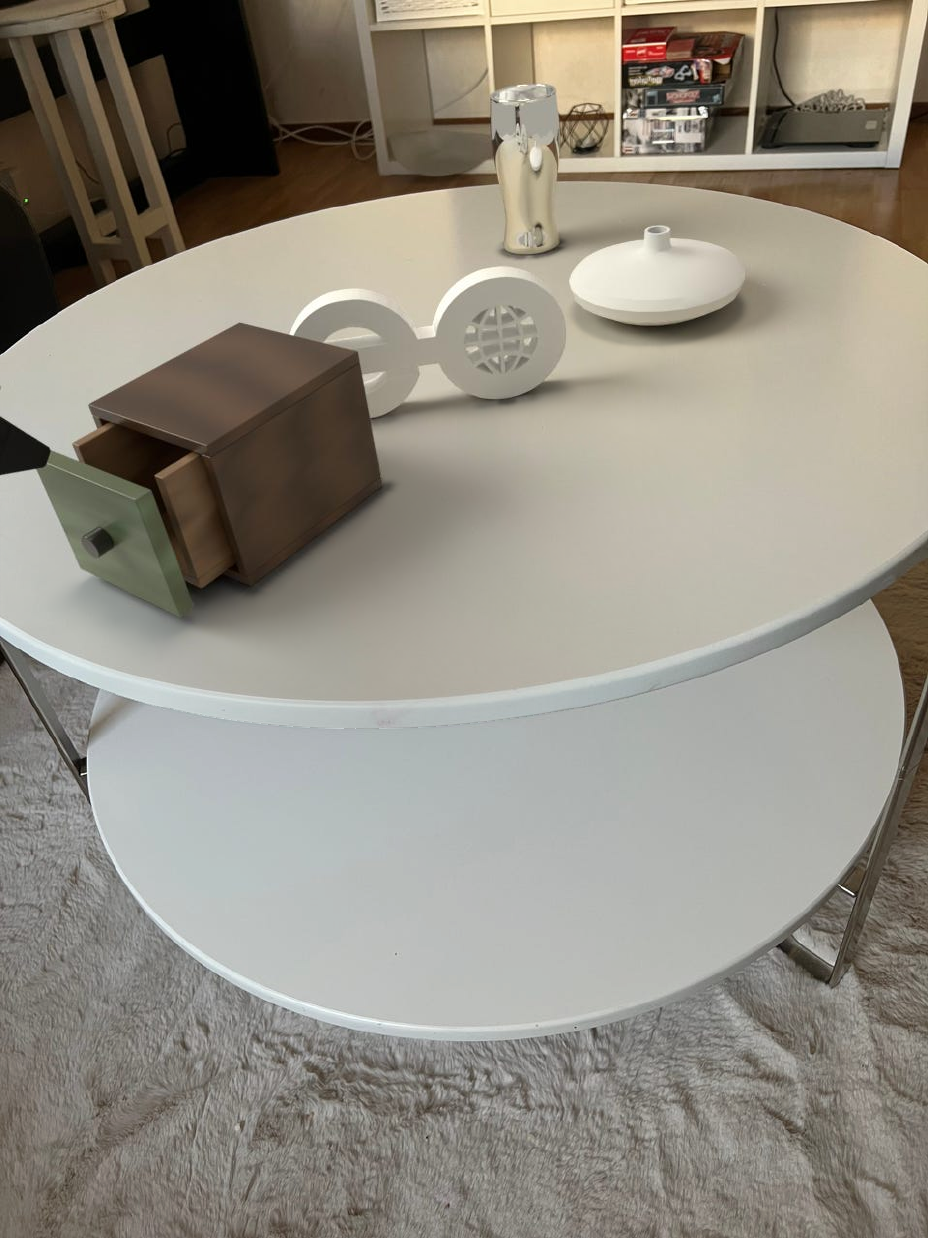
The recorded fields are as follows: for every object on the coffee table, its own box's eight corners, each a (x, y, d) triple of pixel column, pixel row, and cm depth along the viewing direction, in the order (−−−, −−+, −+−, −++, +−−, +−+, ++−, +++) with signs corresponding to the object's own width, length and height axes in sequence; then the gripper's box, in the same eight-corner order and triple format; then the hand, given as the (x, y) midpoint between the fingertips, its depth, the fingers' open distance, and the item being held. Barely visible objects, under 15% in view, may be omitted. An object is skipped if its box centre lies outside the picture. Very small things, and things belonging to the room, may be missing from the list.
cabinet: (250, 586, 64) (206, 445, 57) (139, 537, 70) (87, 404, 63) (383, 485, 72) (358, 350, 65) (272, 448, 78) (239, 321, 71)
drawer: (165, 629, 60) (118, 510, 54) (65, 578, 65) (13, 465, 60) (316, 516, 68) (289, 402, 62) (216, 479, 73) (182, 371, 68)
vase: (620, 265, 99) (620, 192, 95) (770, 287, 91) (778, 209, 87) (538, 327, 90) (533, 250, 85) (697, 357, 82) (701, 274, 78)
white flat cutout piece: (562, 376, 82) (558, 257, 76) (568, 388, 80) (563, 267, 74) (303, 416, 81) (275, 298, 75) (302, 428, 80) (274, 310, 73)
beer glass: (543, 228, 110) (536, 79, 100) (575, 245, 105) (571, 90, 95) (488, 243, 108) (475, 93, 98) (518, 261, 103) (508, 105, 93)
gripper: (-157, 163, 35) (170, 332, 48) (-352, 128, 45) (-33, 278, 58) (-253, 456, 36) (96, 544, 49) (-425, 360, 45) (-93, 455, 59)
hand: (11, 442), depth 54 cm, fingers open, 6 cm apart
